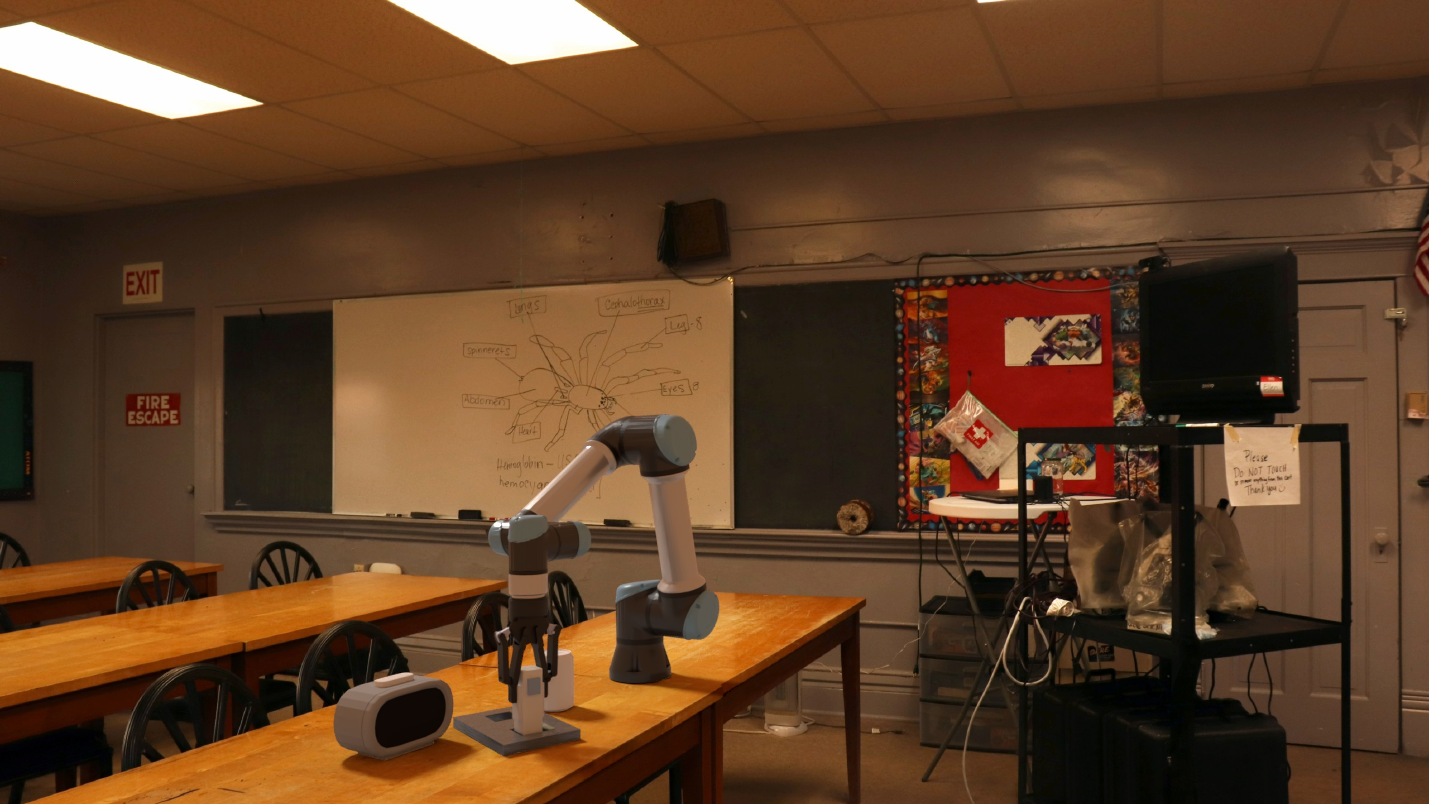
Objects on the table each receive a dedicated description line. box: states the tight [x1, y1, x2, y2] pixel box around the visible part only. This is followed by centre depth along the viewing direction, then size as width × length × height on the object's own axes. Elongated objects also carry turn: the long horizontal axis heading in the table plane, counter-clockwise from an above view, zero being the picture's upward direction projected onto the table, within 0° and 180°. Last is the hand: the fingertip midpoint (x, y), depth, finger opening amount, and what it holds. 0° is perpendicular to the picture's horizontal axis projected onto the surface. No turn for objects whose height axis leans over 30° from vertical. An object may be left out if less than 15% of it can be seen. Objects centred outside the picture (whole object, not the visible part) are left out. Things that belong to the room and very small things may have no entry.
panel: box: [452, 706, 582, 757], centre depth 195 cm, size 16×24×2 cm, turn 37°
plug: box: [514, 664, 542, 735], centre depth 191 cm, size 4×5×12 cm
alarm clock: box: [333, 672, 454, 762], centre depth 187 cm, size 21×10×13 cm, turn 148°
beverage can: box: [544, 648, 575, 713], centre depth 214 cm, size 8×8×12 cm
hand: (528, 717), depth 191 cm, fingers closed on plug, 4 cm apart
